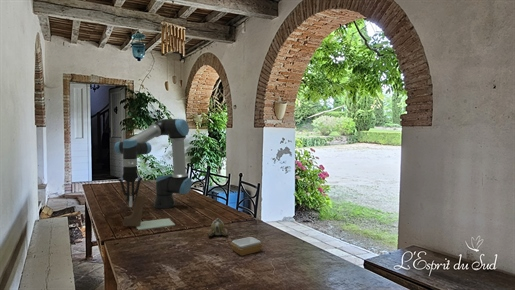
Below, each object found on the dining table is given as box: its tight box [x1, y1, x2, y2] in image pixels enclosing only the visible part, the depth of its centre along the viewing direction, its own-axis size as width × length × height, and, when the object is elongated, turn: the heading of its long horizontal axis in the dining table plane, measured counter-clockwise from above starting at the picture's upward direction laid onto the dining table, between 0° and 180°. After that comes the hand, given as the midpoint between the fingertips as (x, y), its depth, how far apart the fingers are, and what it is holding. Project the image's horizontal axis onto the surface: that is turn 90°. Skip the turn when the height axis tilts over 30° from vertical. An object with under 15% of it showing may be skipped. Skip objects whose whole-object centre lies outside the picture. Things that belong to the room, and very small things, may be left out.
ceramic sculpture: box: [207, 217, 229, 237], centre depth 178 cm, size 11×9×15 cm
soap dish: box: [229, 236, 264, 256], centre depth 154 cm, size 12×10×5 cm
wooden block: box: [122, 193, 146, 227], centre depth 189 cm, size 9×4×18 cm, turn 120°
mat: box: [135, 218, 176, 231], centre depth 195 cm, size 21×15×1 cm
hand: (130, 206), depth 188 cm, fingers closed
